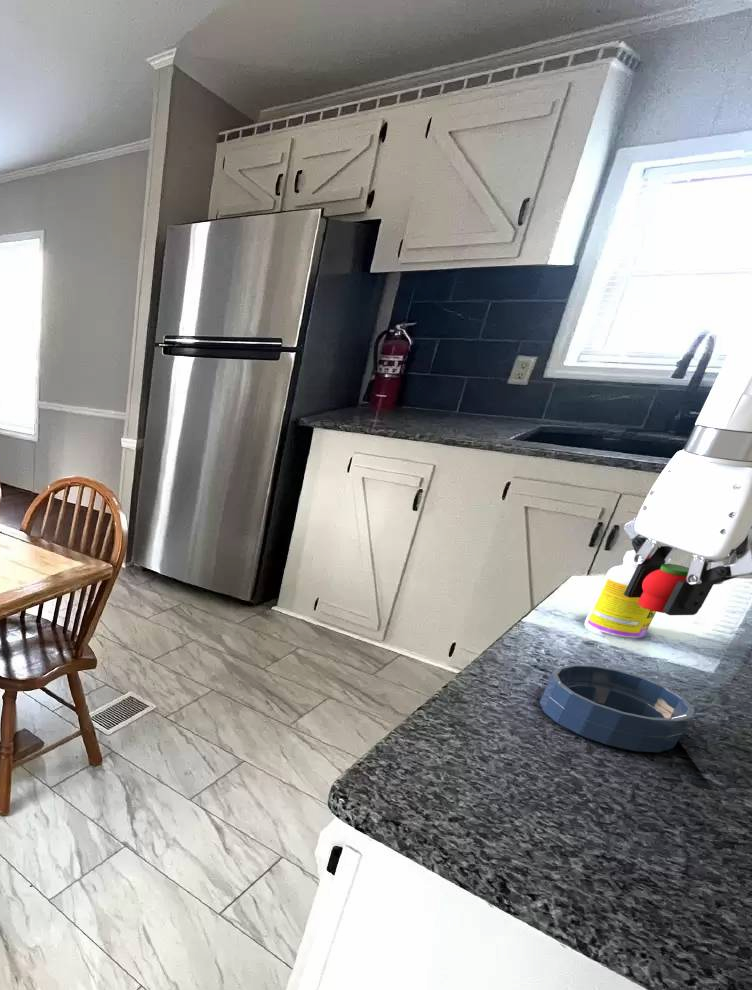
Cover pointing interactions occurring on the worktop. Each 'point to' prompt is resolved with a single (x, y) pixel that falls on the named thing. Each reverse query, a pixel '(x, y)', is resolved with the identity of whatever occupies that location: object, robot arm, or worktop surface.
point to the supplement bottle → (619, 604)
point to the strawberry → (661, 586)
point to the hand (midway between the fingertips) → (659, 603)
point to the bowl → (616, 707)
